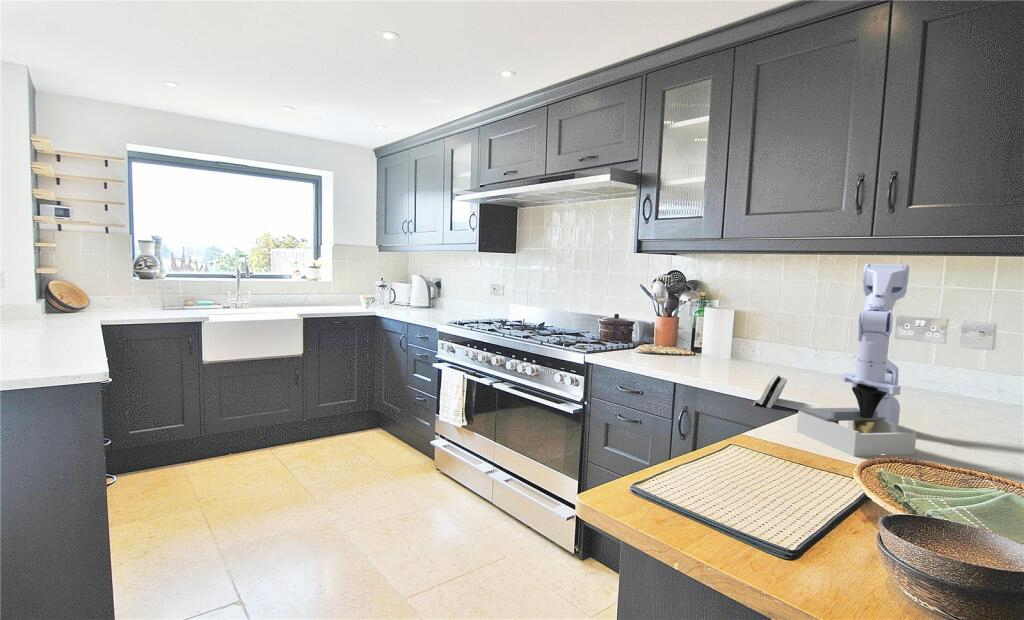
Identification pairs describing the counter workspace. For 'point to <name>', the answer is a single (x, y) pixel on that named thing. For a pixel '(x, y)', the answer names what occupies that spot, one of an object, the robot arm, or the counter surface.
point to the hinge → (771, 391)
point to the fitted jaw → (864, 426)
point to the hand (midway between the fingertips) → (866, 417)
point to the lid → (839, 414)
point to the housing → (859, 436)
